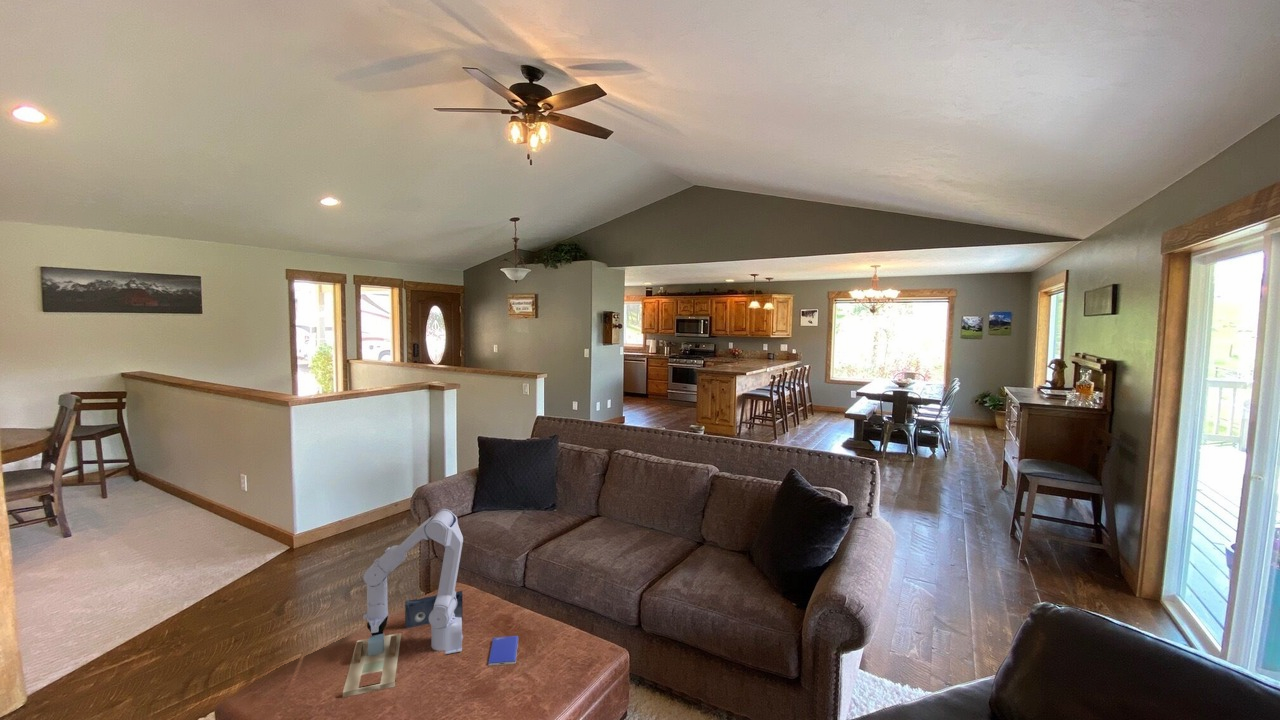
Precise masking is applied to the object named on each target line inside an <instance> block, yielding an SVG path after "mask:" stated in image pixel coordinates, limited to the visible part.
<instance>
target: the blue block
mask: <svg viewBox="0 0 1280 720" xmlns="http://www.w3.org/2000/svg"><path fill="white" fill-rule="evenodd" d="M384 636H385V633H383V634H378V635H373V636H372V635H369V638H368V639H369V642H368V656H371V655H377V654H382V653H383V650H384Z"/></svg>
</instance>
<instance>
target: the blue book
mask: <svg viewBox="0 0 1280 720" xmlns="http://www.w3.org/2000/svg"><path fill="white" fill-rule="evenodd" d="M518 646H519V636H518V635H512V636H511V635H509V636H499V637H497V636H496V637H493V638H492V643H491V647H490V651H489V652H490V653H489V657H488V658H489V659H488V662H487V666H488V667H491V666H502V665H505V666H506V665H513V664H516V662H517V653H518Z"/></svg>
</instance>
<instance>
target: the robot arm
mask: <svg viewBox="0 0 1280 720" xmlns="http://www.w3.org/2000/svg"><path fill="white" fill-rule="evenodd" d="M429 539H431V540H432V541H435V542H437V543H438V544H440V545H442V546H444V548H445V549H444V554H443V559H442V565H441V570H440V577H439V583H438V590H437V591H438V592H437V598H436V600H435V603H434V608H433V610H432V611H431V613H430V615H429V623H430V627H431V629H430V630H431V631H430V633H431V634H430V639H431V643H430V644H431V648H432V650H434V651H438V652H439V651H440V652H441V651H444V655H449V654H455V653H459V652H462V651H463V641H464V634H463V620H462V617H455V614H454V610H455V609H456V607H457V599H456V592H457V590H456V585H457V579H458V573H459V567H460V561H461V555H462V550H463V544H464V537H463V533H462V532H461V529H460V526H459V521H458V517H457V516H456V514H455V513H453V512H452V510H449V509H447V508H443V509H440V510H438V511H437V512H436V514H434V515H432V516H430V517H429V518H428V519H426V520H425V521H424V522H422V523H421V524H420V525H419V526H418V527H417V528H415V530H414V531H412V533H411V534H410V535H409V536H408V537H407V538H406V539H405V540H403V541H402V543H400V544H399V545H398V544H396V545H392V546H391V547H390V546H388V547H387V548H386V549H385V550H384V553H383V554H382V555H381V556H380V557H379V558H375V560H374V561H373V562H372V564H371V565H370V567H368V568H367V569H366V570H365V572H364V573H363V578H362V579H363V582H364V583H365V584H366V602H367V603H366V606H367V607H366V608H367V609H366V612H367V613H364V614H363V615H362V616H363V617H362V619H363V620H367V623H366V627H367V629H368V631H369V632H370V634H371V636H373V635H378V634H384V631H385V627H386V626H387V623H388V619H389V610H388V607H389V606H388V576H389V574H390V573H392V572H393V571H394V570H395V569H396V568H398V566H399V565H400V564H402V563H403V562H404V561H405V560H406V559H407V552H409V551H411V549H412V548H413V547H415V546H416V545H417V544H418V543H419V542H420V541H422V540H426V541H427V540H428V541H429Z"/></svg>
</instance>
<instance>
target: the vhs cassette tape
mask: <svg viewBox="0 0 1280 720" xmlns="http://www.w3.org/2000/svg"><path fill="white" fill-rule="evenodd" d="M437 595H438V594H437ZM437 595H431V596H426V597H422V598H418V599H417V598H416V599H410V600H405V601H404V603H405V604H404V605H405V606H404V610H405V611H404V613H405V614H404V615H405V617H404V618H405V621H404V622H405V623H404V625H405V629H410V628H417V627H420V626H424V625H429V624H430V623H429V615H430V613H431V611H432V610H433V608H434V603H435V600H436V598H437ZM463 595H464V594H463V591H462V590H460V591H456V599H457V607H456V609H455V610H454V614H455V617H462V621H463V619H464V616H463V608H464V606H463V602H464V601H463ZM430 625H431V624H430Z"/></svg>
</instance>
